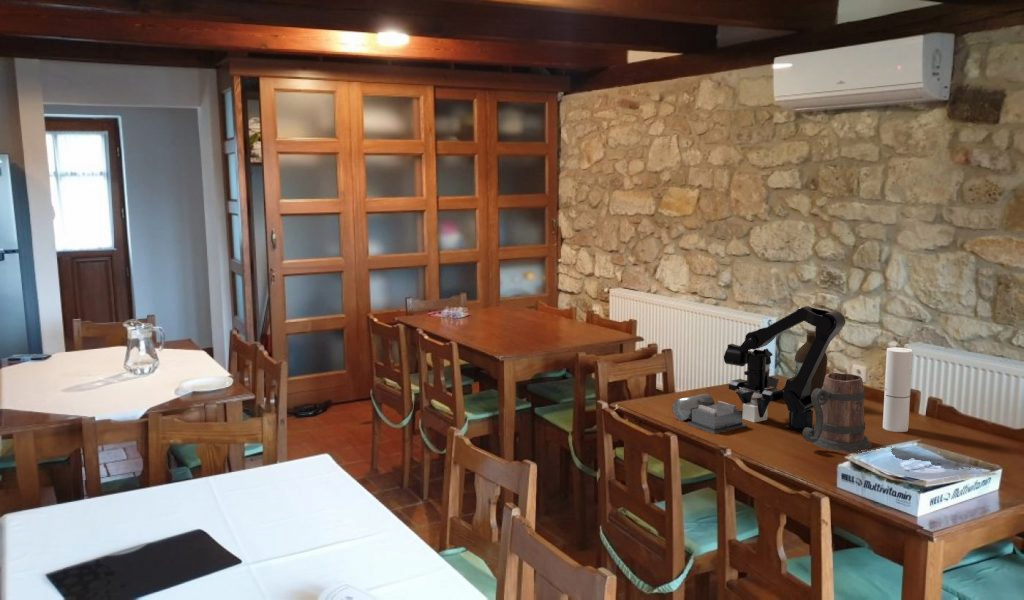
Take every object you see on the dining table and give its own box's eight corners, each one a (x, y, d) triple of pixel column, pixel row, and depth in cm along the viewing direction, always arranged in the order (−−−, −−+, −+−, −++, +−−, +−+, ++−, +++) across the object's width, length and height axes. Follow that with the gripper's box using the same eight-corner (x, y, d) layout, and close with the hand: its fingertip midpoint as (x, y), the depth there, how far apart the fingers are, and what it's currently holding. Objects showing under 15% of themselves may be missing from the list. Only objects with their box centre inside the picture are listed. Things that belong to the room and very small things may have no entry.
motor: (746, 426, 255) (747, 404, 254) (714, 434, 248) (714, 412, 247) (701, 411, 272) (702, 391, 271) (670, 418, 265) (670, 397, 264)
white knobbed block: (767, 419, 262) (767, 400, 261) (754, 422, 259) (754, 402, 258) (755, 415, 266) (756, 396, 265) (742, 418, 263) (743, 399, 262)
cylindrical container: (902, 425, 253) (907, 347, 249) (911, 432, 246) (916, 352, 242) (879, 424, 254) (883, 347, 250) (887, 431, 247) (891, 352, 243)
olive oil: (808, 395, 288) (810, 327, 285) (832, 402, 279) (835, 332, 275) (786, 400, 283) (788, 330, 280) (810, 407, 274) (813, 335, 270)
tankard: (836, 430, 250) (839, 367, 247) (884, 445, 235) (888, 378, 232) (782, 443, 239) (784, 377, 236) (828, 459, 224) (831, 390, 221)
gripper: (796, 370, 256) (795, 418, 258) (751, 360, 272) (750, 404, 274) (772, 375, 250) (770, 424, 253) (728, 364, 266) (727, 410, 269)
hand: (755, 415), depth 262 cm, fingers closed on white knobbed block, 5 cm apart
